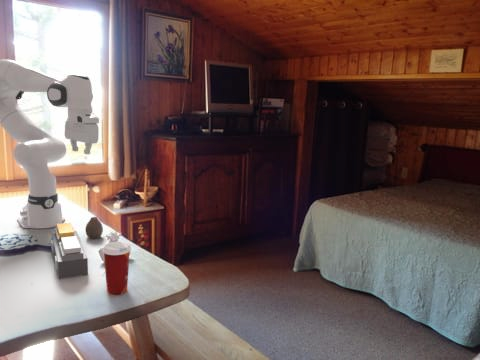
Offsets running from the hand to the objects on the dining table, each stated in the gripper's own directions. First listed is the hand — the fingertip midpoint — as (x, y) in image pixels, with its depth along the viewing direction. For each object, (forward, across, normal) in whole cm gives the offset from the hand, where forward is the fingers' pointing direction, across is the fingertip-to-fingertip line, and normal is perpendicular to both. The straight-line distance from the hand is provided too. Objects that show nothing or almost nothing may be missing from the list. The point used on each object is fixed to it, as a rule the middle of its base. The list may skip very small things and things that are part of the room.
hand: (81, 152), depth 158 cm
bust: (+37, +23, 0) cm, 44 cm away
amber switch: (+29, +6, -10) cm, 31 cm away
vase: (+37, -2, +6) cm, 38 cm away
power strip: (+37, +14, -13) cm, 42 cm away
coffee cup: (+37, +46, -13) cm, 61 cm away
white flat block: (+29, +22, -16) cm, 40 cm away
